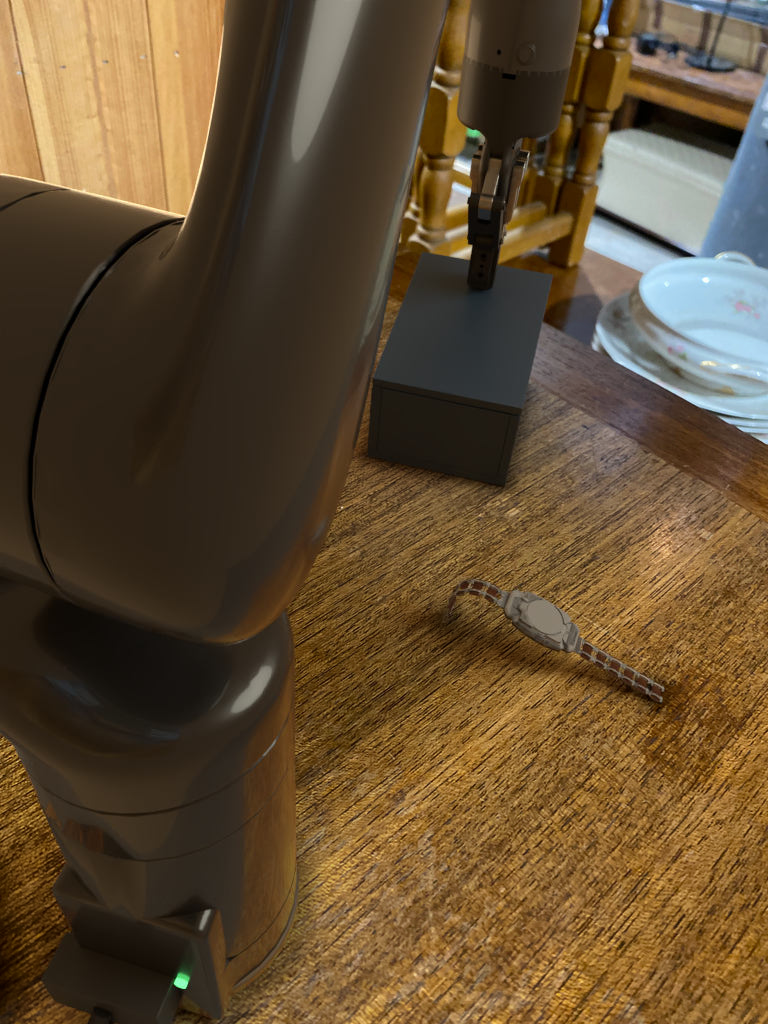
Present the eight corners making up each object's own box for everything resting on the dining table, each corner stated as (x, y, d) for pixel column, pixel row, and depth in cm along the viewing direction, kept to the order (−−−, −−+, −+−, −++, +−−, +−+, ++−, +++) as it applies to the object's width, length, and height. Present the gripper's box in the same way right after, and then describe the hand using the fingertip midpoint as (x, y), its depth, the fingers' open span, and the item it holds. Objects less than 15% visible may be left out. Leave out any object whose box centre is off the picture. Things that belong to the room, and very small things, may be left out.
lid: (421, 259, 69) (422, 251, 69) (551, 282, 68) (553, 274, 67) (371, 385, 60) (371, 378, 59) (521, 416, 58) (522, 408, 58)
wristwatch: (445, 595, 53) (475, 553, 50) (629, 705, 53) (673, 670, 49) (426, 633, 51) (457, 590, 47) (620, 748, 50) (666, 714, 47)
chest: (409, 363, 76) (416, 299, 71) (527, 387, 74) (542, 322, 70) (366, 456, 65) (371, 386, 60) (504, 486, 63) (520, 417, 58)
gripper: (480, 28, 60) (451, 247, 71) (447, 65, 50) (419, 312, 62) (578, 41, 59) (533, 261, 70) (563, 81, 49) (513, 329, 60)
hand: (480, 284), depth 66 cm, fingers closed
